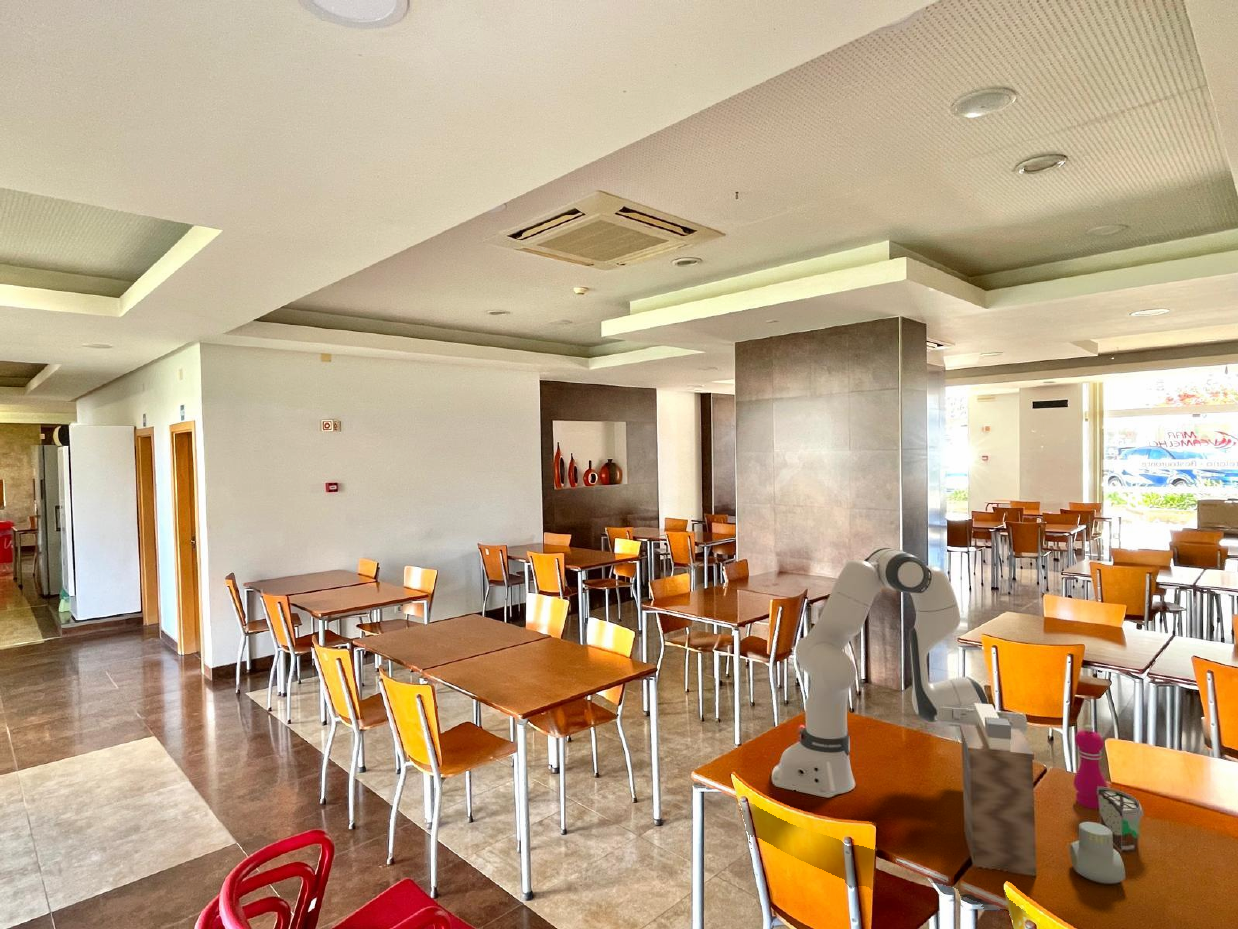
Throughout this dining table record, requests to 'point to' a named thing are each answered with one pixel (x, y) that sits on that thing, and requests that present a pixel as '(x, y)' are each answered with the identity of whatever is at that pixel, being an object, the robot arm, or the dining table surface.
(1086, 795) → the pepper mill
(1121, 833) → the food container
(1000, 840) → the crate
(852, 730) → the dining table surface
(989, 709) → the cream rectangular block
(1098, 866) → the air freshener
